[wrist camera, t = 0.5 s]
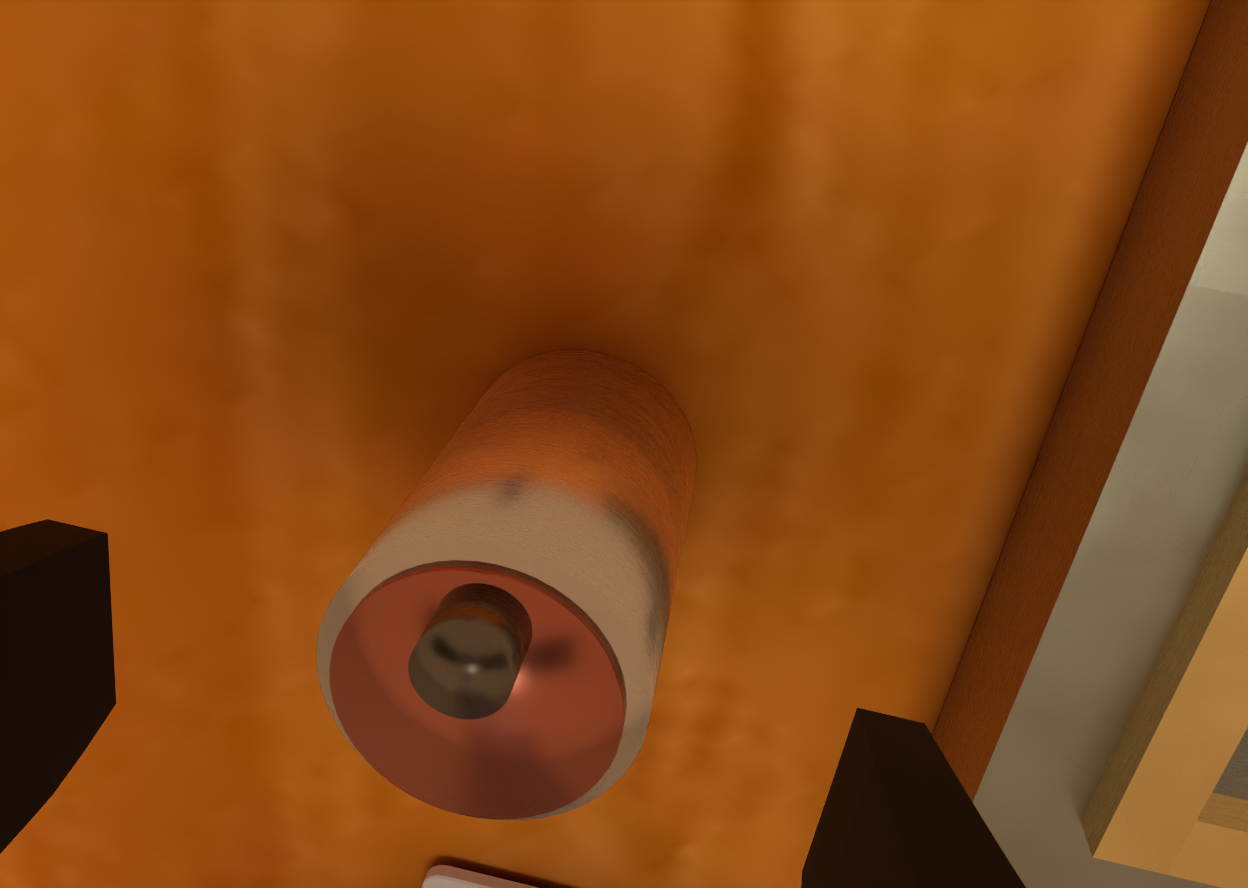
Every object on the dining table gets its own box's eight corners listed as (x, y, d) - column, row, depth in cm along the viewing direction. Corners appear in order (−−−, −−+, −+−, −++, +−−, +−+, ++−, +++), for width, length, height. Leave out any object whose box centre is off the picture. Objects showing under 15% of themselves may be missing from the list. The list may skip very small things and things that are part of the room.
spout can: (673, 581, 20) (603, 931, 13) (457, 533, 21) (267, 849, 13) (718, 377, 18) (669, 648, 11) (481, 327, 19) (274, 558, 11)
